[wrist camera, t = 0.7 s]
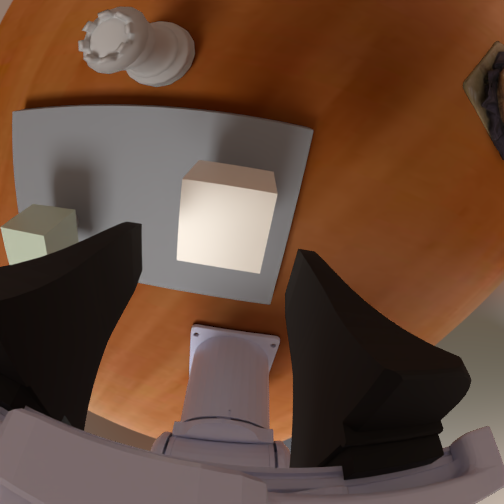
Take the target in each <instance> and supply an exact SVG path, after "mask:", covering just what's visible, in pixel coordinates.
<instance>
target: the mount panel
mask: <svg viewBox="0 0 504 504" xmlns="http://www.w3.org/2000/svg"><path fill="white" fill-rule="evenodd" d="M313 131H314V130H312V129H311V128H309V127H305V126H300V125H295V124H291V123H286V122H281V121H276V120H271V119H265V118H259V117H254V116H247V115H241V114H234V113H227V112H220V111H212V110H203V109H194V108H183V107H170V106H155V105H129V104H90V105H66V106H51V107H40V108H30V109H23V110H19V111H14V112H13V118H12V140H13V164H14V177H15V187H16V196H17V204H18V211H19V213H21V212H22V211H23V210H25V209H26V208H28V207H29V206H31V205H32V204H38V205H45V206H53V207H60V208H67V209H74V210H75V211H76V222H77V232H78V240H79V242H80V241H83V240H85V239H87V238H89V237H91V236H94V235H96V234H98V233H100V232H102V231H104V230H106V229H109V228H111V227H113V226H115V225H118V224H120V223H123V222H134V223H140V224H142V273H141V275H140V278H139V281H138V283H143V284H148V285H153V286H158V287H164V288H169V289H175V290H180V291H186V292H191V293H197V294H203V295H209V296H215V297H221V298H228V299H234V300H241V301H247V302H254V303H261V304H268V305H270V303H271V299H272V296H273V292H274V288H275V285H276V281H277V277H278V273H279V270H280V266H281V262H282V258H283V254H284V251H285V247H286V243H287V239H288V235H289V231H290V227H291V223H292V219H293V215H294V211H295V207H296V203H297V199H298V195H299V191H300V187H301V182H302V178H303V174H304V170H305V166H306V161H307V157H308V153H309V148H310V144H311V140H312V135H313ZM198 160H203V161H211V162H218V163H224V164H231V165H237V166H243V167H249V168H255V169H261V170H267V171H272V172H274V177H275V182H276V188H277V193H278V195H277V199H276V204H275V208H274V213H273V217H272V222H271V226H270V231H269V235H268V240H267V244H266V249H265V253H264V258H263V262H262V267H261V271H260V274H258V273H252V272H246V271H239V270H233V269H227V268H221V267H215V266H208V265H202V264H196V263H190V262H184V261H178V260H177V242H178V225H179V211H180V199H181V187H182V179H183V177H184V176H185V175H186V174H187V173H188V172H189V171H190V169H191V168H192V167H193V166H194V165H195V164H196V163H197V162H198Z"/></svg>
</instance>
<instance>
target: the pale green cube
mask: <svg viewBox="0 0 504 504" xmlns="http://www.w3.org/2000/svg"><path fill="white" fill-rule="evenodd" d="M1 231H2V236H3V240H4V245H5V249H6V253H7V257H8V261H9V264H10V265H12V264H17V263H20V262H24V261H28V260H32V259H35V258H39V257H42V256H45V255H48V254H51V253H54V252H56V251H59V250H62V249H64V248H67V247H69V246H71V245H73V244H76V243H78V242H79V240H78V232H77V222H76V211H75V210H74V209H67V208H60V207H53V206H45V205H38V204H32V205H31V206H29V207H28V208H26V209H25V210H23V211H22V212H21V213H19V214H18V215H16V216H15V217H14V218H12V219H11V220H9V221H8V222H7V223H5V224H4V225H3V226H1Z"/></svg>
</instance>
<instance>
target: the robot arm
mask: <svg viewBox="0 0 504 504" xmlns="http://www.w3.org/2000/svg"><path fill="white" fill-rule="evenodd" d="M141 273H142V224H140V223H134V222H123V223H120V224H118V225H115V226H113V227H111V228H109V229H106V230H104V231H102V232H100V233H98V234H96V235H94V236H91V237H89V238H87V239H85V240H83V241H80V242H78V243H76V244H73V245H71V246H69V247H67V248H64V249H62V250H59V251H56V252H54V253H51V254H48V255H45V256H42V257H39V258H35V259H32V260H28V261H24V262H20V263H17V264H12V265H8V266H3V267H0V504H475V503H477V502H479V501H481V500H483V499H484V498H486V497H488V496H490V495H491V494H493V493H495V492H497V491H498V490H500V489H501V488H503V487H504V465H503V462H502V459H501V456H500V453H499V450H498V447H497V445H496V442H495V440H494V437H493V434H492V432H491V429H490V427H489V426H486V427H482V428H479V429H476V430H473V431H470V432H468V433H466V434H464V435H462V436H461V437H459V438H458V439H457V440H455V441H454V442H453V443H452V444H451V446H449V447H445V448H442V445H441V442H440V439H439V436H438V434H440V433H441V432H442V431H443V426H442V423H441V419H442V418H443V417H445V415H447V414H448V413H449V412H450V411H451V410H452V409H453V408H454V407H455V406H456V405H457V404H458V403H459V402H460V401H461V400H462V398H463V397H464V396H465V395H466V393H467V391H468V389H469V387H470V384H471V378H470V375H469V373H468V371H467V369H466V367H465V366H464V363H463V361H462V359H461V358H460V357H459V356H456V355H454V354H452V353H449V352H447V351H445V350H443V349H440V348H438V347H435V346H433V345H431V344H429V343H427V342H426V341H424V340H422V339H420V338H418V337H416V336H414V335H413V334H411V333H409V332H407V331H406V330H404V329H403V328H401V327H400V326H398V325H396V324H395V323H393V322H392V321H390V320H389V319H388V318H386V317H385V316H383V315H382V314H381V313H379V312H378V311H377V310H376V309H374V308H373V307H372V306H370V305H369V304H368V303H367V302H366V301H364V300H363V299H362V298H361V297H360V296H359V295H358V294H357V293H356V292H354V291H353V290H352V289H351V288H350V287H349V286H348V285H347V284H346V283H345V282H344V281H343V280H342V279H341V278H340V277H339V276H338V275H337V274H336V273H335V272H334V271H333V270H332V269H331V268H330V266H329V265H328V264H327V263H326V262H325V261H324V260H323V259H322V258H321V257H320V256H319V255H318V254H317V253H315V252H314V251H308V250H302V249H298V252H297V255H296V259H295V262H294V266H293V269H292V273H291V276H290V279H289V283H288V286H287V289H286V293H285V318H286V325H287V333H288V340H289V347H290V354H291V361H292V370H293V424H292V442H291V455H290V451H289V449H288V448H287V447H286V446H285V445H284V444H283V442H282V441H274V442H273V430H272V429H269V371H270V369H271V366H272V363H273V361H274V358H275V355H276V352H277V349H278V347H279V344H280V338H279V337H278V336H273V335H265V334H258V333H250V332H243V331H236V330H229V329H223V328H216V327H210V326H204V325H198V324H195V325H193V326H192V328H191V341H190V366H189V381H188V386H187V391H186V396H185V401H184V406H183V411H182V416H181V421H180V422H176V421H175V422H174V426H173V431H172V433H171V432H164V433H162V434H161V436H159V437H158V438H157V439H156V440H155V442H154V443H153V445H152V448H151V451H148V450H144V449H140V448H136V447H132V446H128V445H125V444H122V443H118V442H115V441H112V440H108V439H105V438H103V437H100V436H97V435H94V434H91V433H88V432H85V431H84V427H85V421H86V415H87V410H88V405H89V401H90V397H91V393H92V389H93V385H94V381H95V378H96V375H97V371H98V368H99V365H100V362H101V359H102V356H103V353H104V350H105V348H106V345H107V342H108V340H109V338H110V336H111V334H112V332H113V330H114V328H115V326H116V324H117V322H118V320H119V319H120V317H121V315H122V313H123V311H124V309H125V308H126V306H127V304H128V302H129V300H130V298H131V297H132V295H133V293H134V291H135V288H136V286H137V283H138V281H139V278H140V275H141ZM196 333H198V334H196ZM272 344H274V345H272Z"/></svg>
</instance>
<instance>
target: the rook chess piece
mask: <svg viewBox="0 0 504 504" xmlns="http://www.w3.org/2000/svg"><path fill="white" fill-rule="evenodd" d="M82 31H86V32H87V33H86V36H85V39H84V40H81V41H78V43H79V51H83V55H84V58H83V59H84V60H85V61H86V62H87V64H88V66H89V67H91V68H92V69H94V70H95V71H97V72H98V73H107V74H111V73H114V72H118V71H121V70H126V71H127V73H128V75H129V76H130V77H131V78H133V79H134V80H136V81H137V82H138V83H140V84H144V85H149V86H154V87H159V86H164V85H170V84H171V83H173V82H175V81H176V80H178V79H180V78H182V77H183V75H184V74H185V73H186V72H187V70H188V69H189V68H190V67H191V64H192V61H193V58H194V56H195V48H194V41H193V39H192V37H191V36H190V34H189V32H188V31H187V30H185V29H183V28H182V27H180V26H179V25H176V24H174V23H171V22H163V21H158V22H154V23H149V22H147V20H146V19H145V17H144V15H143V14H142V12H140V11H138V10H136V9H134V8H133V7H117V8H114V9H111V10H105V11H103V12H100V13H98V18H97V19H96V20H95V21H94V22H91V21H88V22H87V24H86V25H85V26H84V28H83V29H82Z"/></svg>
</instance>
